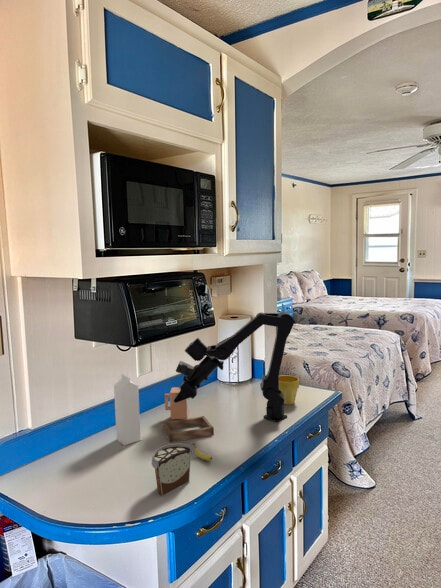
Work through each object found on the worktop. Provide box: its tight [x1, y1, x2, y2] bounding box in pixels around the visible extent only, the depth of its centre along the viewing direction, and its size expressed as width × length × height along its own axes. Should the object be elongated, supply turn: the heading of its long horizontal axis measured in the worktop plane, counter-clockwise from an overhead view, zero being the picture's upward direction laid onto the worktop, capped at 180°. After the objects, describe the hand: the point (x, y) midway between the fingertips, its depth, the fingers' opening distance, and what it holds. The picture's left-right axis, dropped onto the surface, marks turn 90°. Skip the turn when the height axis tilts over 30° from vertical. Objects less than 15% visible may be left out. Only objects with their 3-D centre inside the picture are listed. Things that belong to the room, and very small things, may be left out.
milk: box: [113, 373, 142, 446], centre depth 144 cm, size 6×6×22 cm
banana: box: [192, 442, 213, 462], centre depth 131 cm, size 8×2×4 cm, turn 47°
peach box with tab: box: [164, 386, 190, 420], centre depth 163 cm, size 8×6×10 cm
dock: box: [162, 415, 215, 443], centre depth 151 cm, size 15×11×2 cm
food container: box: [151, 443, 193, 498], centre depth 117 cm, size 12×6×10 cm, turn 136°
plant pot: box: [279, 374, 300, 406], centre depth 178 cm, size 10×10×10 cm
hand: (175, 398), depth 163 cm, fingers closed on peach box with tab, 6 cm apart
